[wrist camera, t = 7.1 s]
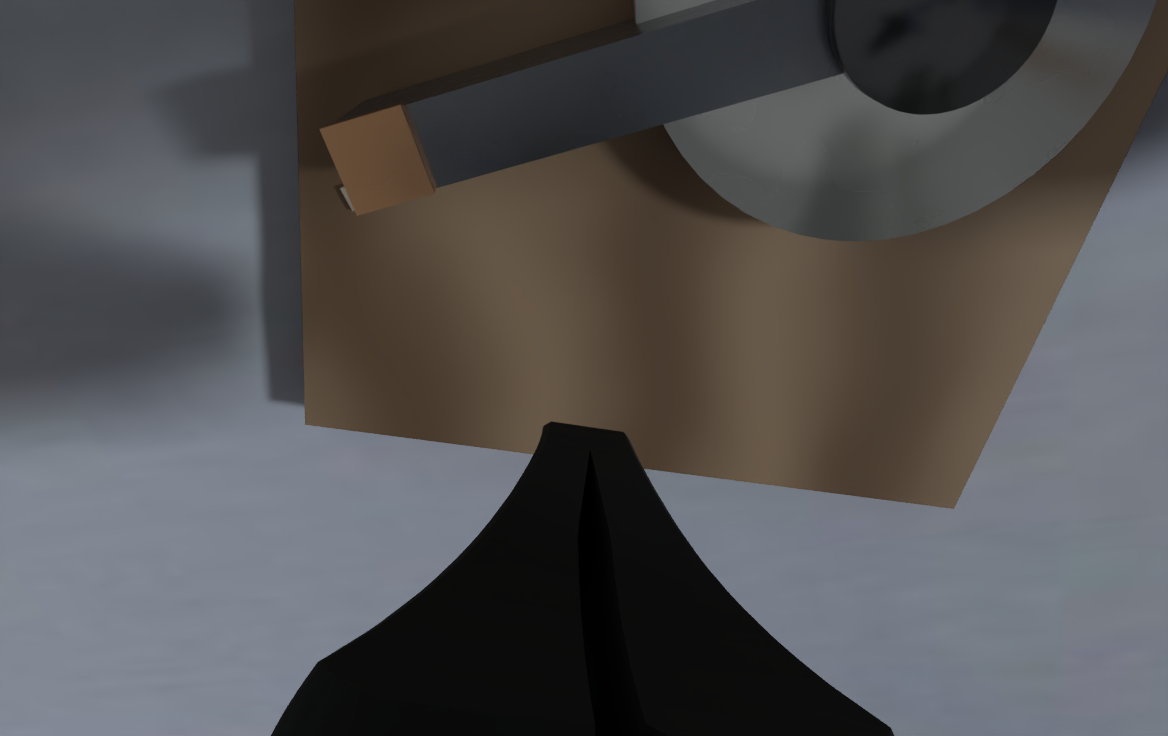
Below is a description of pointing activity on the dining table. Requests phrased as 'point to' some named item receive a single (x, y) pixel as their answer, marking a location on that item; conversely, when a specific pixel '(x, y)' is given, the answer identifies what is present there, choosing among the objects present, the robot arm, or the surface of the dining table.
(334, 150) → the dial
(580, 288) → the dial board
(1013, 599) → the dining table surface
